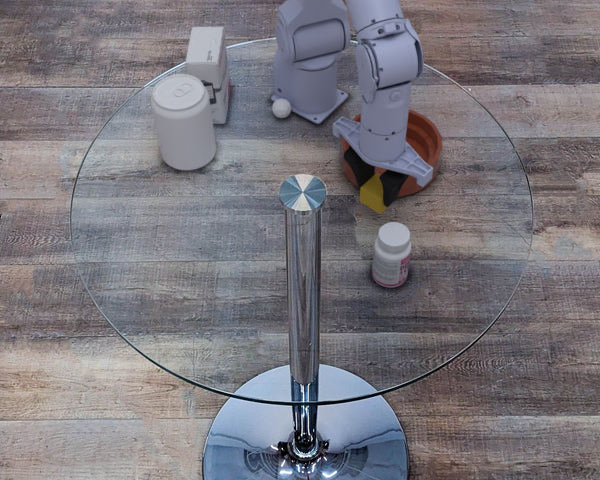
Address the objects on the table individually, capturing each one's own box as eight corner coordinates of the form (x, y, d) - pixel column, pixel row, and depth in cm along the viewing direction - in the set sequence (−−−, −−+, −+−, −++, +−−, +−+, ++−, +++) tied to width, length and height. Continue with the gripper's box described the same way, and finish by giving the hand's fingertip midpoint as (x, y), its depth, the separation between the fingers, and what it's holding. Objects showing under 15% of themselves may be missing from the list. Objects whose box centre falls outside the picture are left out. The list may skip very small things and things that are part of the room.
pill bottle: (405, 291, 114) (410, 251, 107) (369, 285, 115) (372, 245, 108) (409, 263, 117) (415, 222, 110) (374, 257, 117) (378, 216, 111)
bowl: (321, 170, 127) (321, 148, 123) (377, 116, 133) (378, 93, 130) (403, 215, 122) (405, 193, 118) (457, 156, 128) (461, 133, 124)
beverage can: (150, 155, 129) (136, 92, 120) (190, 126, 133) (180, 63, 123) (187, 181, 126) (176, 120, 116) (227, 151, 129) (220, 89, 120)
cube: (359, 201, 118) (360, 187, 116) (375, 186, 120) (376, 172, 117) (380, 214, 117) (381, 200, 115) (396, 199, 118) (398, 184, 116)
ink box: (200, 86, 138) (191, 24, 128) (231, 86, 138) (224, 24, 128) (193, 124, 133) (183, 62, 123) (226, 124, 133) (218, 63, 123)
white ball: (293, 111, 134) (293, 96, 132) (287, 124, 133) (287, 109, 130) (276, 107, 135) (275, 92, 132) (270, 120, 133) (269, 105, 131)
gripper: (452, 128, 105) (439, 203, 116) (357, 77, 111) (354, 153, 122) (417, 160, 102) (408, 234, 113) (322, 106, 108) (322, 182, 119)
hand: (378, 194), depth 117 cm, fingers closed on cube, 3 cm apart
